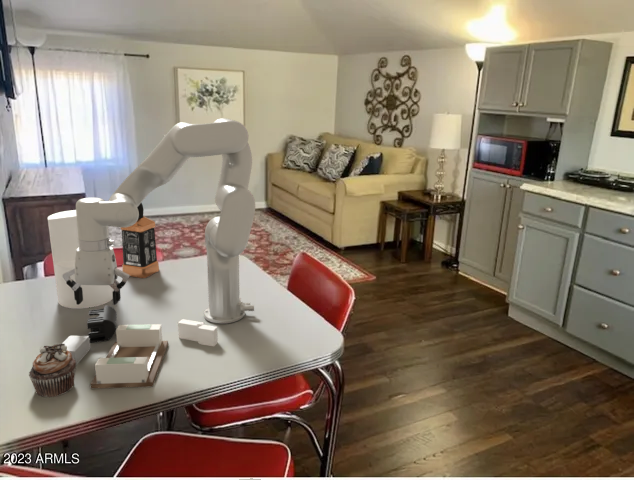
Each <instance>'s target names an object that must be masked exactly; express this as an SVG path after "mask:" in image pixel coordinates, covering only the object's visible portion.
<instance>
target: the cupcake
mask: <svg viewBox="0 0 634 480" xmlns="http://www.w3.org/2000/svg"><path fill="white" fill-rule="evenodd" d="M39 352H40V353H39V354H37V356H36V358H35V359H34V360H33V362H32V366H31V369H30V371H29V372H28V376H29V379H30V380H31V383H32V385H33V388H34V390H35V393H36V395H38V396H39V397H41V398H42V397H43V398H54V397H58V396H61V395H65V394H66V393H67V392H69V391H70V390H71V389H72V388H73V387H74V386H75V375H76V370H77V365H76V361H75V359H73V358H72V354H71V353H70V352H69V351H68V350H67V346H65V344H62V343H57V344H53V345H44V346H42V347H40V349H39Z"/></svg>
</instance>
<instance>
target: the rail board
mask: <svg viewBox="0 0 634 480" xmlns="http://www.w3.org/2000/svg"><path fill="white" fill-rule="evenodd" d="M168 346H169V340H162V343H161V345H160V347H159V350H158V352H157V355H156V357H155V360H154V362H153V365H152V367H151V370H150V372H149V376H148V378H147V381H146V382H143V383H109V384H97V379H96V374H95V376H94V377H93V379H92V380H91V382H90V385H89V387H90V389H117V388H118V389H119V388H122V389H123V388H146V387H147V388H148V387H149V388H151V387H154V384H155V383H156V379H157V376H158V373H159V371H160V368H161V366H162V363H163V360H164V357H165V355H166V352H167V348H168ZM116 347H117V341H114V343H113V344H112V346H111V348H110V349H109V351H108V353H107V354H106V355H105V358H110V357H111V356H112V354H113V352H114V350H115V348H116ZM154 349H155V346H150V347H121V348H120V350H119V352H118V354H117V356H116V357H115V358H121V357H147V360H148V363H149V361H150V358H151V356H152V353H153V351H154Z"/></svg>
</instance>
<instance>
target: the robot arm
mask: <svg viewBox="0 0 634 480" xmlns="http://www.w3.org/2000/svg"><path fill="white" fill-rule="evenodd" d="M220 155H221V158H222V161H221V169H220V175H219V179H218V183H217V188H216V192H215V196H214V200H215V201H214V202H215V205H216V207H217V208H218V210H220V214H219V216H215V217H213V218H211V219H210V220H209V221H208V223H207V224H206V226H205V230H204V241H205V248H206V261H207V263H206V265H207V289H208V290H207V291H208V293H207V294H208V307H207V308H206V309H205V310H204V311H203V317H204V319H205V320H206V321H208V322H211V323H213V324H233V323H235V322H238V321H241V320H242V319H243V318H244V317H245V316H246V315H245V314H246V312H255V304H251V302H243V301H242V298H241V297H240V255H242V253H243V252H244V251H245V249H246V248H247V245H248V242H249V239H250V234H251V231H252V226H253V222H254V217H255V212H256V201H255V197H254V195H253V194H252V192H251V191H250V190H249V184H250V179H251V173H252V168H253V167H252V166H253V155H252V150H251V147H250V145H249V132H248V129H247V128H246V126H245V125H244V124H243V123H241V122H240V121H237V120H234V119H231V118H227V117H221V118H218V119H216V120H214V121H213V122H209V123H191V122H184V121H183V122H181V121H180V122H178V123H176V124H175V125H173V126H172V127H171V128H170V130H168V132H167V133H166V134H165V135H164V136H163V138H162V139H161V140H160V141H159V142H158V143H157V144H156V146H155V147H154V148H153V150H152V151H151V152H149V153H148V155H147V156H146V158H145V159H144V160H142V162H140V164H138V166H137V167H136V168H135V169H134V170H133V171H132V172H131V173H130V174H128V176H127V177H126V178H125V179H124V180H123V182H122V183H121V184H120V185H119V186H118V187H117V188H116V190H114V192H113V193H112V194H111V195H110V197H109V198H108V201H106V200H105V199H103V198H100V197H84V198H80V199H78V200H77V201H76V203H75V210H76V217H77V230H78V243H79V248H78V249H77V251H76V257H75V269H72V270H70V271H68V272H66V273H64V274H63V275H62V277H63V278H64V280H65V281H66V284H67V285H68V286H70V287H71V288H72V290H73V291H74V298H75V300H76V304H77V305H79V304H80V303H81V302H82V301H83V291H82V287H80V286H81V285H110V286H111V287H112V288H113V290H114V291H113V299H112V305H114V306H117V304H118V303H119V302H120V301H121V289H122V288H123V287H124V286H125V285H127V283H128V281H129V278H130V277H131V276H130V275H129V274H127V273H125V272H123V271H122V270H120V269H118V266H117V265H118V264H117V260H116V254H115V251H114V247H112V246H115V245H116V242H115V240H112V239H111V237H110V234H109V233H110V232H109V227H113V228H120V227H129V226H132V225H133V224H135V223H136V222H137V220H138V217H139V211H138V208H137V207H138V206H139V205H140V203H141V202H142V203H143V201H144V200H145V199H146V197H147V196H149V195H150V194H151V193H152V192H153V191H154V190H155V189H158V188H159V187H161V186H164V185H166V184H168V183H169V182H170V181H171V180H172V179H173V178H174V177H175V176H176V174H177V173H178V172H179V170H180V169H181V168H182V167H183V166H184V165H185V163H186V162H188V160H189V159H190V158H205V157H212V156H213V157H214V156H220ZM74 274H75V280H76V282H75V281H74V280H72V279H71V277H70V276H71V275H74ZM118 277H120V278H122V279H121V281H120V282H119V281H118V280H117V279H118Z"/></svg>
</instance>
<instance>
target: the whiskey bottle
mask: <svg viewBox="0 0 634 480" xmlns="http://www.w3.org/2000/svg"><path fill="white" fill-rule="evenodd" d="M137 208H138V211H139V217H138V220H137V222H136V223H135V224H133V225H132V226H129V227H119V228H120V230H121V240H122V241H121V243H122V244H121V245H122V259H123V263H122V265H121V269H122V270H121V271H123V272H125V273H127V274H129V275H130V277H133V278H139V279H145V278H146V279H147V278H148V277H151V276H152V275H154V274H156V273H157V272H160V266H159V260H158V256H157V245H156V235H155V234H156V233H155V228H156V222H155V220H153V219H151V218H149V217H146V216H145V215H144V206H143V201H142V202H141V203H140V205H139V206H138V207H137Z"/></svg>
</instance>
